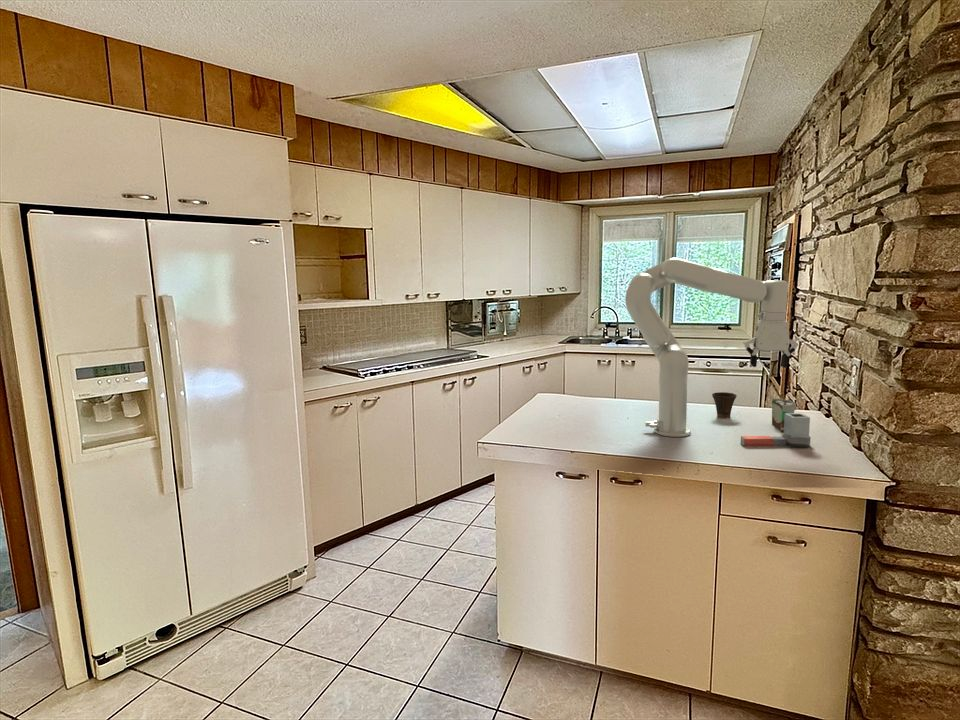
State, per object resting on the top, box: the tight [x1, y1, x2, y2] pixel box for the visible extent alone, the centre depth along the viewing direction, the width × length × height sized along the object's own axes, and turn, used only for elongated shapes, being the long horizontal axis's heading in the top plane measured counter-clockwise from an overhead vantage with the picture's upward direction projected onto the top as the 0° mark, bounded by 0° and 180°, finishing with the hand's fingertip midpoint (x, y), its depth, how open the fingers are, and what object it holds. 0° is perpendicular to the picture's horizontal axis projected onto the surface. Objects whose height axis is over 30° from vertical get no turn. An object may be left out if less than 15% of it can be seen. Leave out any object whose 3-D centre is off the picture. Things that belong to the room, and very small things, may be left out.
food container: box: [771, 398, 797, 433], centre depth 194 cm, size 12×6×10 cm, turn 168°
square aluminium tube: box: [783, 412, 811, 439], centre depth 176 cm, size 5×5×7 cm
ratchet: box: [740, 433, 812, 450], centre depth 177 cm, size 21×8×6 cm, turn 84°
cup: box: [711, 391, 737, 419], centre depth 212 cm, size 9×9×10 cm
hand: (768, 366), depth 184 cm, fingers open, 9 cm apart
